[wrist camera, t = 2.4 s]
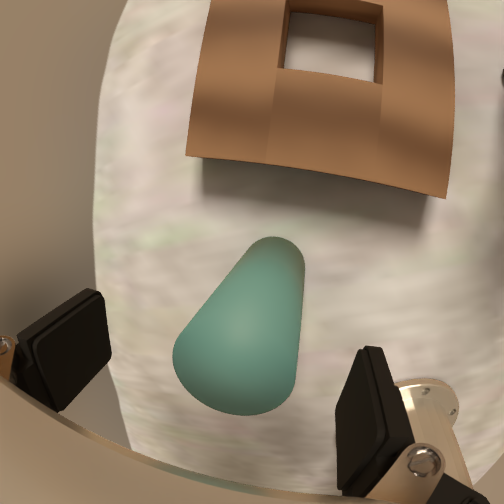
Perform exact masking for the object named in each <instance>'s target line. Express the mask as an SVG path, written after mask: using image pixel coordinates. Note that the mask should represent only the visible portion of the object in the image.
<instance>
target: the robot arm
mask: <svg viewBox="0 0 504 504" xmlns="http://www.w3.org/2000/svg"><path fill="white" fill-rule="evenodd" d="M17 338H18V341H19V343H18V344H17V345H16V343H15V341H14V339H13V338H11V337H9V336H4V335H1V336H0V504H490V503H489V501H488V500H487V498H486V497H484V496H483V495H482V494H480V493H478V492H476V491H474V489H473V486H472V483H471V479H470V476H469V473H468V470H467V467H466V464H465V461H464V458H463V456H462V453H461V450H460V447H459V445H458V442H457V439H456V437H455V434H454V431H453V429H452V426H453V425H454V423H455V421H456V419H457V416H458V411H459V403H458V399H457V397H456V395H455V393H454V391H453V390H452V388H451V387H450V386H449V385H447V384H446V383H444V382H442V381H438V380H435V379H426V378H422V379H411V380H406V381H402V382H398V383H395V384H394V382H393V379H392V376H391V373H390V370H389V367H388V364H387V361H386V358H385V355H384V352H383V349H382V348H381V347H374V346H365V347H364V348H363V350H362V349H359V350H358V352H357V354H356V357H355V360H354V362H353V365H352V368H351V370H350V373H349V375H348V378H347V381H346V383H345V386H344V388H343V390H342V393H341V395H340V398H339V400H338V402H337V405H336V409H335V422H336V447H337V488H338V490H342V496H334V495H322V494H309V493H299V492H290V491H283V490H276V489H269V488H263V487H257V486H251V485H246V484H241V483H236V482H231V481H227V480H223V479H218V478H214V477H210V476H207V475H203V474H199V473H196V472H192V471H189V470H186V469H182V468H179V467H176V466H173V465H170V464H167V463H164V462H161V461H158V460H156V459H153V458H150V457H147V456H145V455H142V454H140V453H137V452H135V451H132V450H130V449H127V448H125V447H123V446H120V445H118V444H116V443H114V442H111V441H109V440H107V439H105V438H103V437H101V436H99V435H97V434H95V433H93V432H91V431H89V430H87V429H85V428H83V427H81V426H79V425H77V424H75V423H74V422H72V421H70V420H68V419H67V418H65V417H63V416H61V415H60V414H58V412H59V411H62V410H64V409H65V408H66V407H67V406H68V405H69V404H70V403H71V402H72V400H73V399H74V398H75V397H76V396H77V395H78V394H79V393H80V392H81V391H82V390H83V388H84V387H85V386H86V385H87V384H88V383H89V382H90V380H92V379H93V378H94V376H95V375H96V374H97V373H98V372H99V371H100V370H101V369H102V368H103V367H104V366H105V365H106V364H107V363H108V362H109V360H110V359H111V355H112V351H111V345H110V339H109V332H108V325H107V317H106V308H105V300H104V297H103V296H102V294H101V293H100V292H99V291H96V290H92V289H89V288H86V289H84V290H83V291H81V292H80V293H78V294H76V295H75V296H74V297H72V298H70V299H69V300H67V301H66V302H64V303H63V304H61V305H60V306H58V307H57V308H55V309H54V310H52V311H51V312H49V313H48V314H46V315H45V316H43V317H42V318H40V319H39V320H37V321H36V322H34V323H33V324H31V325H30V326H29V327H27V328H26V329H24V330H23V331H21V332H20V333H18V334H17Z"/></svg>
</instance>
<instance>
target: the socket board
mask: <svg viewBox="0 0 504 504" xmlns="http://www.w3.org/2000/svg"><path fill="white" fill-rule="evenodd" d="M290 12H301V13H311V14H319V15H327V16H334V17H340V18H346V19H351V20H356V21H361V22H366V23H371V24H375V64H374V83H372V82H367V81H363V80H358V79H353V78H348V77H342V76H337V75H331V74H324V73H317V72H310V71H302V70H293V69H284V62H285V53H286V45H287V36H288V28H289V19H290ZM454 111H455V76H454V56H453V43H452V33H451V25H450V18H449V11H448V5H447V0H211V4H210V8H209V13H208V17H207V22H206V27H205V32H204V37H203V42H202V47H201V52H200V58H199V63H198V69H197V75H196V81H195V87H194V93H193V100H192V107H191V114H190V121H189V129H188V137H187V145H186V154H185V156H191V157H201V158H212V159H223V160H233V161H243V162H252V163H260V164H268V165H276V166H283V167H290V168H297V169H303V170H310V171H316V172H322V173H328V174H333V175H339V176H344V177H350V178H355V179H360V180H365V181H370V182H374V183H379V184H384V185H388V186H393V187H397V188H401V189H406V190H410V191H414V192H418V193H422V194H426V195H430V196H434V197H438V198H443V199H446V194H447V188H448V181H449V174H450V166H451V156H452V146H453V132H454Z"/></svg>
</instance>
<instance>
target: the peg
mask: <svg viewBox="0 0 504 504" xmlns="http://www.w3.org/2000/svg"><path fill="white" fill-rule="evenodd" d="M304 277H305V262H304V258H303V256H302V253H301V252H300V250H299V249H298V248H297V247H296V246H295V245H294V244H293V243H292V242H290V241H288V240H286V239H284V238H280V237H266V238H262V239H260V240H258V241H256V242H255V243H254V244H252V245H251V247H250V248H249V249H248V250H247V251H246V253H245V254H244V255H243V256H242V258H241V259H240V260H239V261H238V263H237V264H236V265H235V266H234V267H233V269H232V270H231V271H230V272H229V274H228V275H227V276H226V277H225V279H224V280H223V281H222V282H221V284H220V285H219V286H218V287H217V289H216V290H215V291H214V292H213V294H212V295H211V296H210V297H209V299H208V300H207V301H206V302H205V304H204V305H203V306H202V307H201V309H200V310H199V311H198V312H197V314H196V315H195V316H194V317H193V319H192V320H191V321H190V322H189V324H188V325H187V326H186V327H185V329H184V330H183V331H182V332H181V334H180V335H179V337H178V338H177V340H176V342H175V344H174V348H173V357H172V358H173V365H174V369H175V372H176V374H177V376H178V378H179V380H180V382H181V383H182V385H183V386H184V387H185V388H186V390H187V391H188V392H189V393H190V394H191V395H192V396H194V397H195V398H196V399H197V400H199V401H200V402H202V403H203V404H205V405H207V406H209V407H211V408H213V409H215V410H218V411H220V412H224V413H227V414H233V415H241V416H249V415H257V414H262V413H265V412H268V411H271V410H273V409H275V408H276V407H278V406H279V405H281V404H282V403H283V402H284V401H285V400H286V399H287V398H288V397H289V395H290V394H291V392H292V390H293V387H294V384H295V378H296V369H297V359H298V350H299V339H300V328H301V317H302V305H303V291H304Z"/></svg>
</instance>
